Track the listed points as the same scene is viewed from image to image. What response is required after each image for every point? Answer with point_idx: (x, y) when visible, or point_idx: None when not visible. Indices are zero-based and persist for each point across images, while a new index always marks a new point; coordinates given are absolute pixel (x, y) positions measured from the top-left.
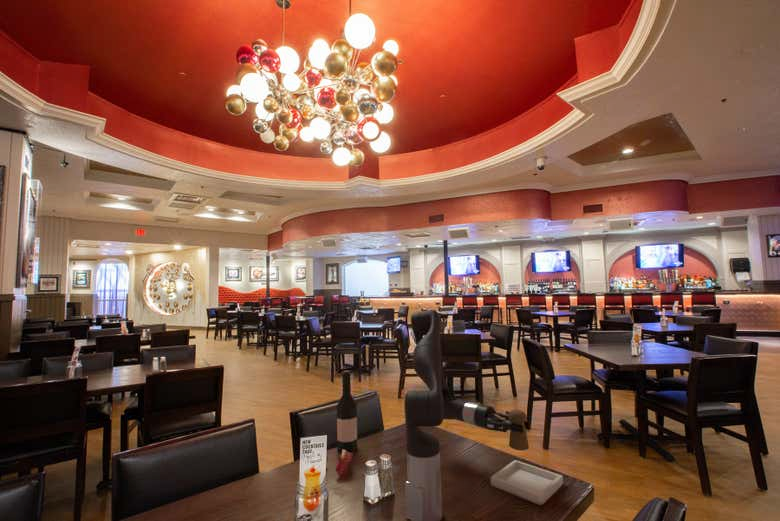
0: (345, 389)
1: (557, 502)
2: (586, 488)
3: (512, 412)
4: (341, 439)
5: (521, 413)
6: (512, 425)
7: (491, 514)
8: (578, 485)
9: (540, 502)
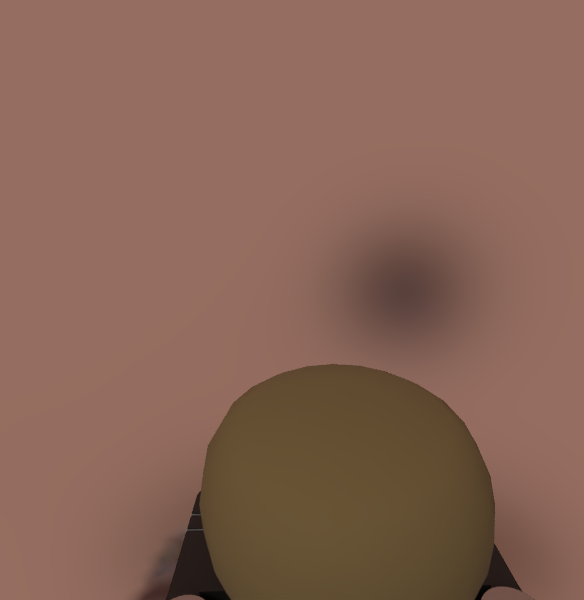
0: None
1: None
2: (179, 533)
3: (453, 443)
4: None
5: (362, 367)
6: (496, 568)
7: None
8: (167, 562)
9: None
